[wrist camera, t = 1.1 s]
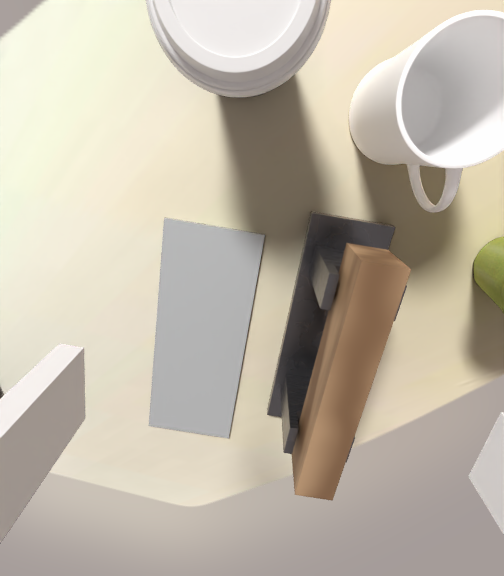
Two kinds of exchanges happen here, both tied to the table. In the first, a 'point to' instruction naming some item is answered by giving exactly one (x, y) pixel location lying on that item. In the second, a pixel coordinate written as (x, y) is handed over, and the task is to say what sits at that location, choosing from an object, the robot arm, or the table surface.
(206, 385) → the mat
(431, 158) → the mug
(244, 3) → the coffee cup
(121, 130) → the table surface
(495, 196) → the table surface
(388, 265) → the rail
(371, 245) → the stand
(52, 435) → the robot arm
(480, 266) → the plant pot
